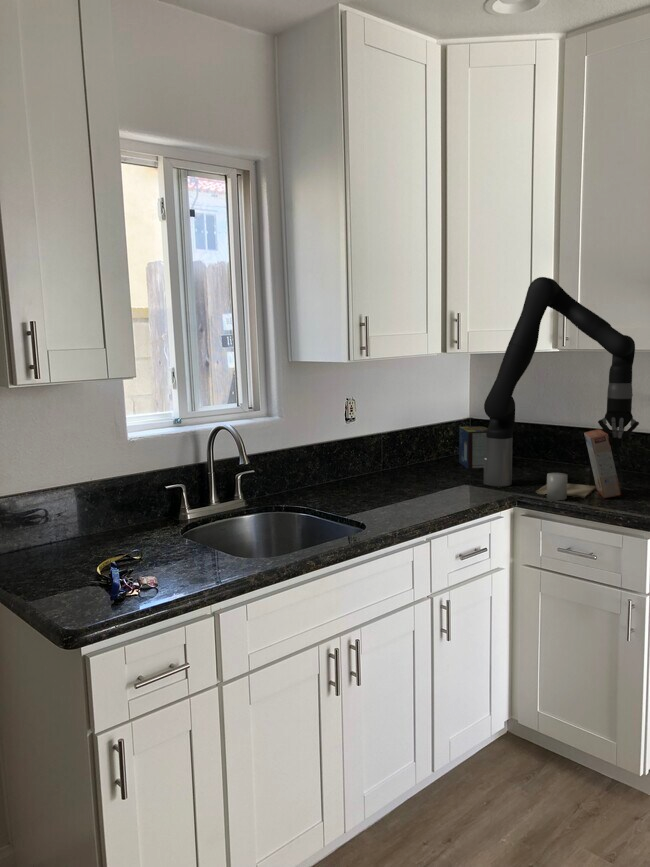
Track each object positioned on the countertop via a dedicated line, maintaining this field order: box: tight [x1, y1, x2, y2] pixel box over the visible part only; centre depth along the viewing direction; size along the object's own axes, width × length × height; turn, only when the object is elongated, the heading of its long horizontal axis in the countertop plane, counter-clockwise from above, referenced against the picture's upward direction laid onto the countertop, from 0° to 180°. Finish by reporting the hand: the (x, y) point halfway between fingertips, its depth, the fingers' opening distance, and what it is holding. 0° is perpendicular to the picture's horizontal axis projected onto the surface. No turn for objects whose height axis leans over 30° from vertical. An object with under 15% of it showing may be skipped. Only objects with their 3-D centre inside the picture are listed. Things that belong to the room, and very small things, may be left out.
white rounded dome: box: [545, 472, 568, 501], centre depth 237 cm, size 6×6×8 cm
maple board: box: [535, 482, 597, 499], centre depth 248 cm, size 16×18×1 cm
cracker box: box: [583, 428, 622, 499], centre depth 240 cm, size 14×6×21 cm, turn 168°
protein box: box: [458, 425, 488, 470], centre depth 299 cm, size 10×15×16 cm
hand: (617, 448), depth 238 cm, fingers closed
